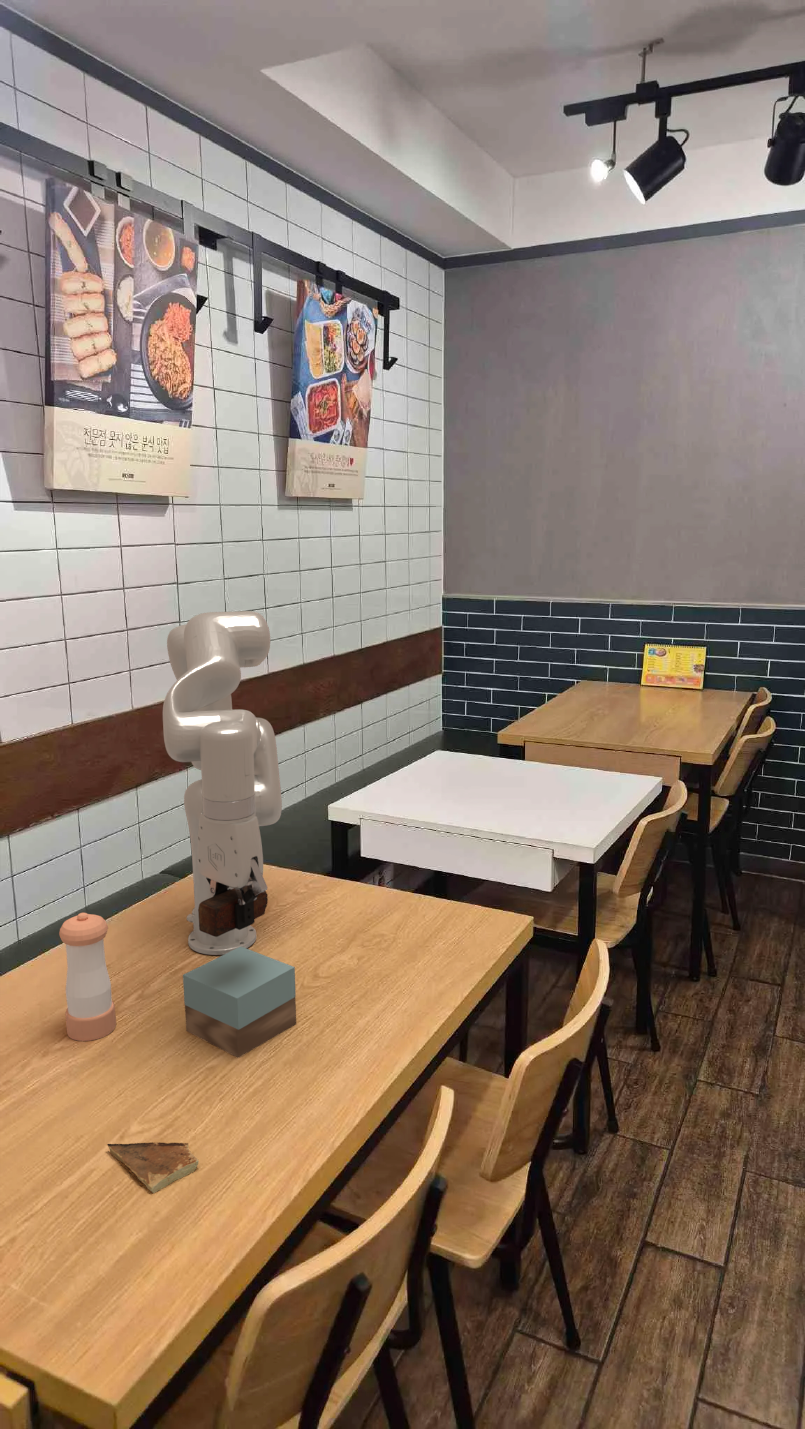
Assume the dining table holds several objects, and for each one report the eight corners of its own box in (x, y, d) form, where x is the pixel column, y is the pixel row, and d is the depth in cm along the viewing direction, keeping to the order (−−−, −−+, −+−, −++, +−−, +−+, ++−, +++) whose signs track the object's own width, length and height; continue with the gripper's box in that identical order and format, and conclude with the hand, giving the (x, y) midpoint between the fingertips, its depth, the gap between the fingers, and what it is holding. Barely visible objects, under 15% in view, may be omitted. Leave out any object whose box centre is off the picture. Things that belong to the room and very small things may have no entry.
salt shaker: (125, 1020, 147) (117, 907, 143) (96, 1044, 140) (87, 926, 136) (87, 1013, 149) (78, 901, 146) (56, 1036, 143) (46, 920, 139)
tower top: (184, 1004, 143) (182, 974, 142) (242, 974, 152) (240, 946, 151) (238, 1029, 136) (237, 998, 135) (295, 996, 145) (294, 966, 144)
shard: (107, 1154, 117) (106, 1141, 116) (162, 1127, 122) (161, 1115, 122) (150, 1198, 109) (149, 1185, 109) (206, 1168, 114) (206, 1155, 114)
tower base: (186, 1032, 144) (184, 1003, 143) (244, 1001, 153) (243, 974, 152) (238, 1059, 137) (236, 1029, 136) (296, 1025, 146) (295, 996, 145)
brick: (217, 939, 134) (216, 909, 133) (198, 931, 137) (197, 902, 136) (268, 914, 143) (268, 885, 142) (250, 907, 145) (249, 879, 144)
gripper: (172, 800, 138) (179, 914, 142) (248, 825, 128) (252, 947, 132) (212, 788, 144) (217, 898, 148) (288, 811, 133) (291, 929, 137)
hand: (234, 920), depth 140 cm, fingers closed on brick, 4 cm apart
